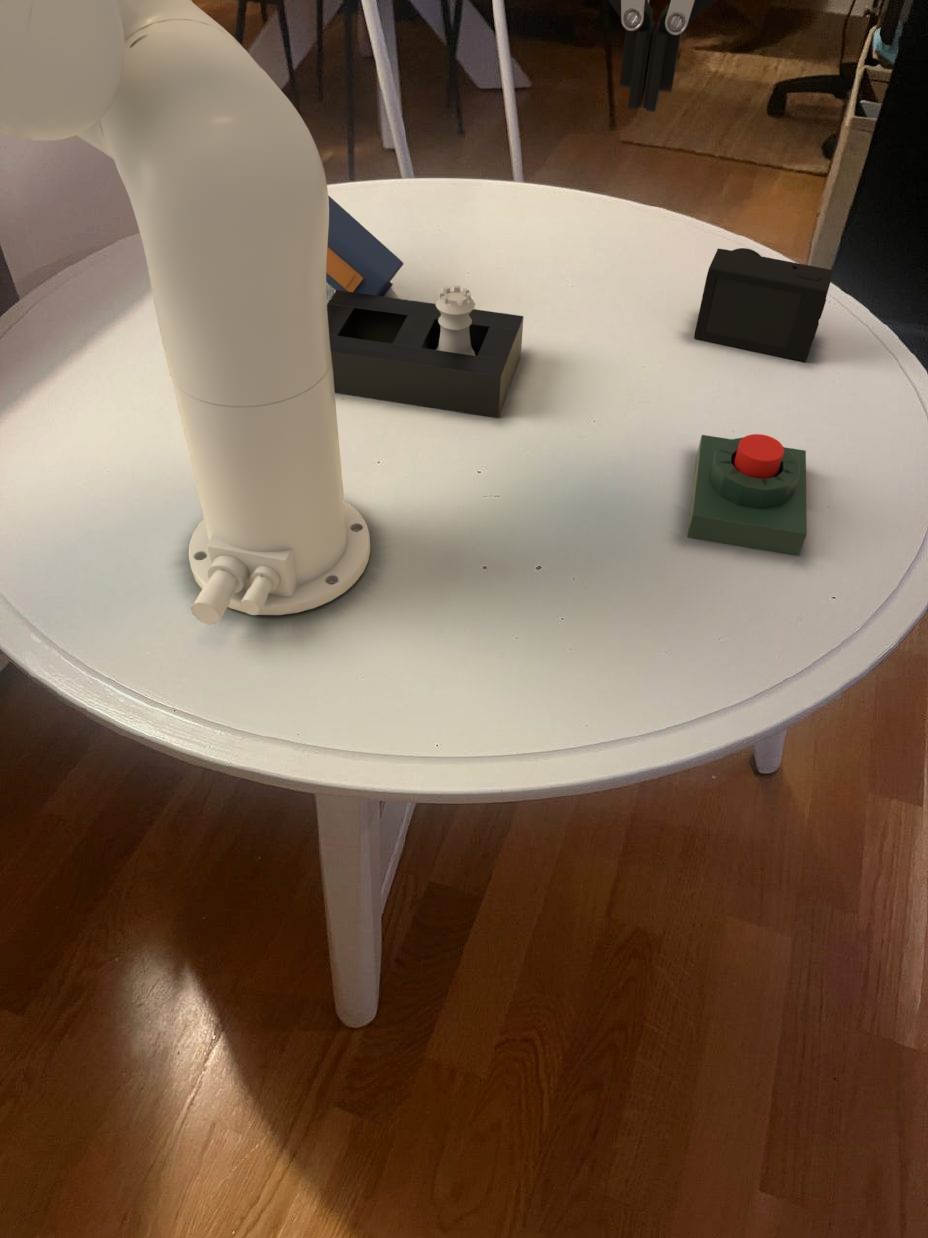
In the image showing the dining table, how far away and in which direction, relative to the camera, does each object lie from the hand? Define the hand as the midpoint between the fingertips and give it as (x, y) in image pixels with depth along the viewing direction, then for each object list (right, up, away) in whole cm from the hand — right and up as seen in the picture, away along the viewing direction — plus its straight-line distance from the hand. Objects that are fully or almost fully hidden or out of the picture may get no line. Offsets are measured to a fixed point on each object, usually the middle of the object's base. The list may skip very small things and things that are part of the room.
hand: (643, 101), depth 57 cm
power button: (+11, -19, +15) cm, 26 cm away
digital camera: (+17, -4, +34) cm, 38 cm away
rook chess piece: (-11, -9, +28) cm, 32 cm away
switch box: (+11, -21, +17) cm, 30 cm away
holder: (-15, -8, +29) cm, 34 cm away
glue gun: (-27, +1, +38) cm, 47 cm away
